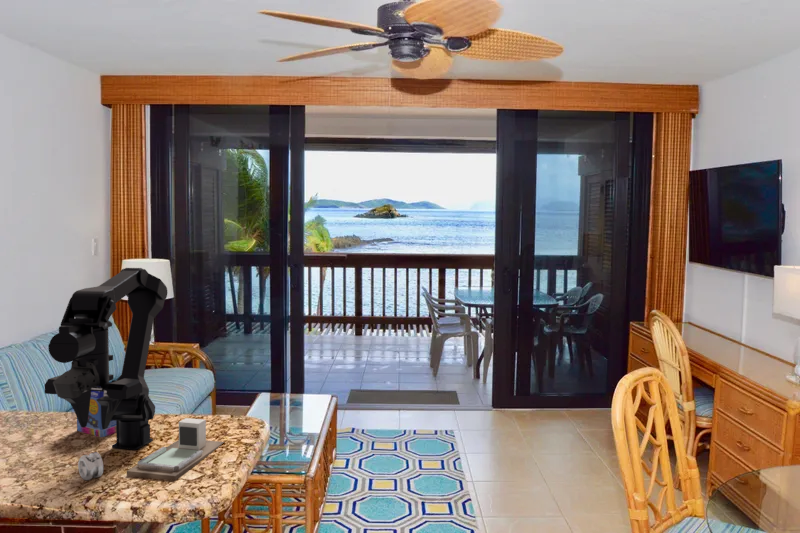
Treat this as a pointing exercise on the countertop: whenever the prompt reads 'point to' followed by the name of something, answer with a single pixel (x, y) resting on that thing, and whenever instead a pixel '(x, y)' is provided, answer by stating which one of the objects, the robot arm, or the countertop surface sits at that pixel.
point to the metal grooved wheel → (90, 466)
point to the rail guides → (162, 467)
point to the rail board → (174, 461)
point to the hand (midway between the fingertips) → (94, 428)
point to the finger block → (192, 433)
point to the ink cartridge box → (96, 418)
